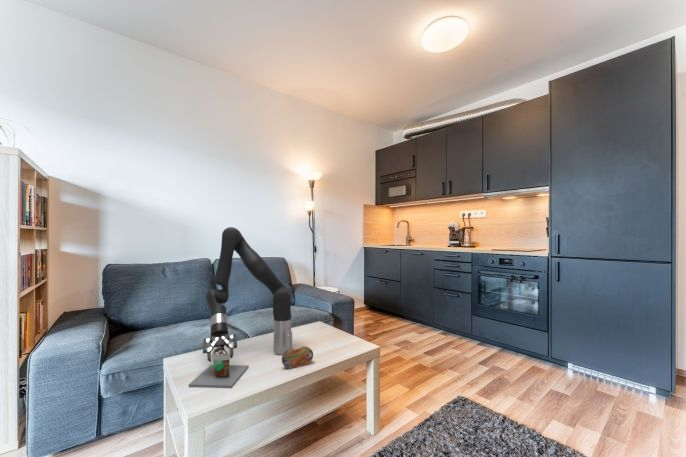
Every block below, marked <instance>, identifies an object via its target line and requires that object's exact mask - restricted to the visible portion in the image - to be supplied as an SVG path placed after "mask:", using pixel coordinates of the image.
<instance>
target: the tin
mask: <svg viewBox="0 0 686 457" xmlns="http://www.w3.org/2000/svg"><path fill="white" fill-rule="evenodd" d="M281 356H282V357H281V364H282V365H283V367H284V368H286V369H287V370H291V369H296V368H300V367H304V366H308V365H309V364H310V363H311V362H312V361H313V358H314V352H313V350H312V349H311V348H310V347H309V346H305V345H304V346H303V345H302V346H299V347H294V348H292V349H289V350H287V351H285V352H284V354H283V355H281Z"/></svg>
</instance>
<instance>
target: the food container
mask: <svg viewBox="0 0 686 457" xmlns="http://www.w3.org/2000/svg"><path fill="white" fill-rule="evenodd" d="M211 360H213V365H214V374H215V376H216V377H218V378H226V377H229V365H230V360H231V358H230V353H228V352H227V350H226V348H225V346H223V347H217V348H216V347H215V348H214V349H213V350H212V352H211Z"/></svg>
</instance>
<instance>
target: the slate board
mask: <svg viewBox="0 0 686 457" xmlns="http://www.w3.org/2000/svg"><path fill="white" fill-rule="evenodd" d="M248 369H249V365H247V364H243V365H241V364H237V365H236V364H229V377H226V378H218V377H216V376H215V374H214V364H210V365H209V366H208V367H207V368H206V369H205V370H203V372H201V373H200V374H199V375H197V376H196V378H194V379H193V380H192V381H191V382H190V383H188V388H210V389H211V388H213V389H214V388H215V389H217V388H218V389H220V388H221V389H232V388H233V387H234V386H235V385H236V384H237V382H238V381H239V380H240V379H241V377H242V376H243V375H244V374H245V373H246V372H247V370H248Z"/></svg>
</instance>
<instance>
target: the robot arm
mask: <svg viewBox="0 0 686 457" xmlns="http://www.w3.org/2000/svg"><path fill="white" fill-rule="evenodd" d="M234 253H237V254H238V256H239V257H240V259H241V261H242V263H243V264H244V266H245V267H246V269H247V270H248V272H249V273H250V274H251V275H252V276H253V278H255V279H256V280H257V281H258V282H259V283H261V284H263V285H264V286H265V287H266V288H267V289H268V290H269V291H270V293H271V294H272V295H273V296H272V315H273V354H275V355H279V356H280V355H281V356H283V354H284V352H285V351H287V350H289V349H293V331H292V310H291V308H292V307H291V306H292V304H291V303H292V302H291V301H292V296H293V294H292V291H290V288H288V287H287V286H286V285H285V284H284V283H283V282H281V280H280V279H279V278H278V277H277V275H276V274H275V272H273V270H272V269H271V268H270V266H269V265H268V264H267V262H266V261H265V260H264V259H263V258H262V257H261V255H259V253H257V251H255V250H254V249H253V248H252V247H251V245H249V243H248V242H247V240H246V239H245V238H244V236H243V234H242V232H241V231H240V230H238V228H236V227H231V226H229V227H227V228H225V229H224V230H223V231H222V232H221V247H220V253H219V259H218V264H217V268H216V270H215V275H214V280H213V283H214V284H215V285H217V286H220V287H221V289H218V288H217V289H215V288H211V289H209V290H208V291H207V293H206V296H205V298H206V299H205V300H206V304H207V305H208V308H209V310H210V325H209V326H210V338H206V337H204V338H203V339H202V340H203V341H202V342H203V343H202V354H206V356H207V358H206V359H207V362H209V363H211V362H212V352H213V351H214V350H215V349H216V348H219V347H223V346H224V347H226V348H227V349H229V354H230V359H232V358H233V357H234V349H237V348H238V340H237V334H236V333H233V334H231V335H230V334H229V324H228V323H229V322H228V317H227V307H226V305H224V304H226V303H227V302H228V301H229V298H230V291H229V290H230V289H229V281H230V277H231V274H232V266H233V258H234ZM230 340H231V341H232V342H233V344H232V343H231V341H230ZM209 343H210V346H208V348H207V345H208V344H209Z"/></svg>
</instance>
